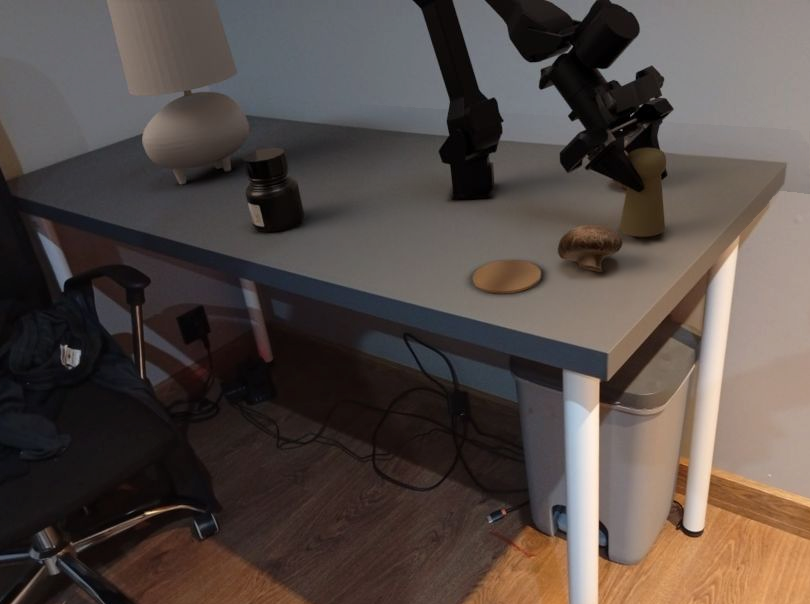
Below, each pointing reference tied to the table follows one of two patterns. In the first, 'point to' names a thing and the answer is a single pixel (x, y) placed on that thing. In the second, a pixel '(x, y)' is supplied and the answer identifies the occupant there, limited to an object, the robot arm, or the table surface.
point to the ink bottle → (272, 191)
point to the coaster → (507, 276)
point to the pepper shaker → (645, 195)
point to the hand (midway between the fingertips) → (653, 184)
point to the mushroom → (589, 246)
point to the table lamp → (181, 80)
